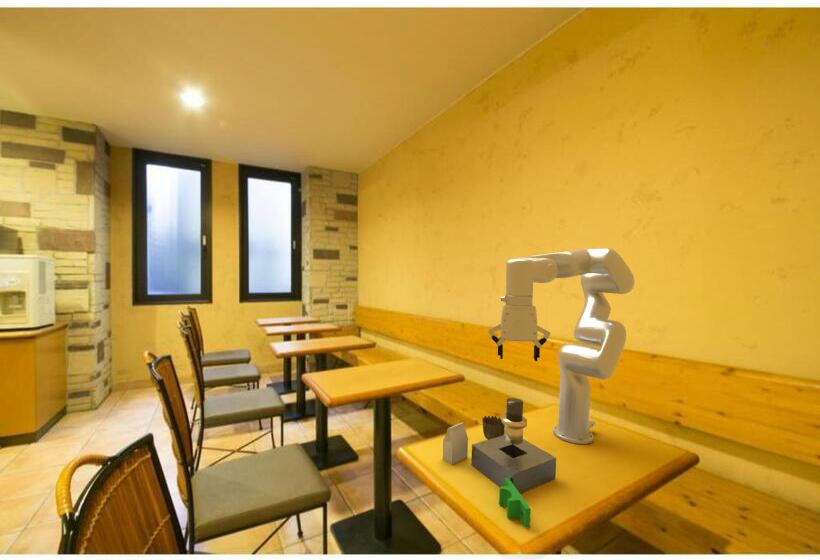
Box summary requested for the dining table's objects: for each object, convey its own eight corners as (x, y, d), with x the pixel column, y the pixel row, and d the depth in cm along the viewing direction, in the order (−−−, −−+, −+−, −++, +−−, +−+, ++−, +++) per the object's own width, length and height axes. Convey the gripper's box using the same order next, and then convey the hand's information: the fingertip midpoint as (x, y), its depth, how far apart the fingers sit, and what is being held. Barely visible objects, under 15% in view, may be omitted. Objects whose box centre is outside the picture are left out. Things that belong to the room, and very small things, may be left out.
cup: (505, 451, 110) (506, 426, 110) (481, 448, 111) (482, 423, 111) (504, 440, 117) (505, 416, 117) (481, 437, 119) (482, 414, 118)
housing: (511, 451, 110) (512, 432, 110) (555, 479, 96) (556, 457, 96) (471, 464, 102) (471, 444, 102) (512, 497, 88) (513, 473, 88)
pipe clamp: (493, 496, 89) (494, 478, 89) (507, 495, 89) (508, 477, 89) (514, 529, 78) (514, 509, 78) (529, 528, 78) (530, 507, 78)
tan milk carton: (467, 457, 106) (468, 424, 106) (451, 465, 102) (452, 431, 102) (458, 452, 109) (459, 420, 109) (442, 459, 105) (443, 426, 104)
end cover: (513, 432, 103) (514, 394, 103) (531, 442, 98) (533, 403, 97) (495, 437, 100) (497, 398, 100) (513, 448, 94) (515, 407, 94)
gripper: (488, 302, 102) (487, 360, 103) (552, 303, 97) (551, 364, 99) (488, 298, 109) (488, 353, 110) (548, 300, 105) (547, 357, 106)
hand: (518, 358), depth 104 cm, fingers open, 9 cm apart
